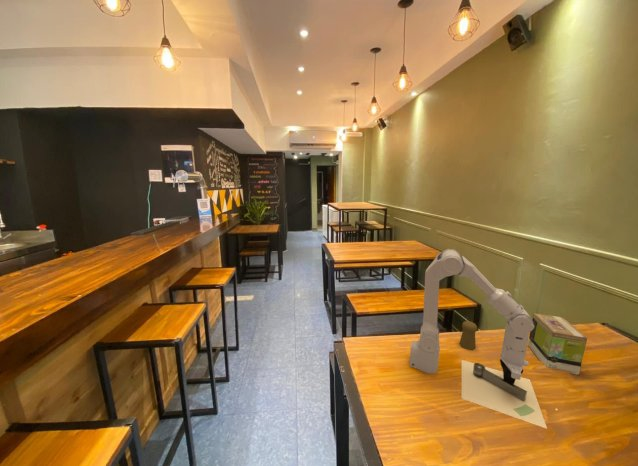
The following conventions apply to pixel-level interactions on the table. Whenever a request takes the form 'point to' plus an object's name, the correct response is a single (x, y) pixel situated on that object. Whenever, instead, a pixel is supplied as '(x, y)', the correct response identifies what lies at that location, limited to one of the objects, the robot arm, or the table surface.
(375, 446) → the table surface
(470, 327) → the cork
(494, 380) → the pointer
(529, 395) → the dial board
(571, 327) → the tea box
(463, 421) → the table surface
